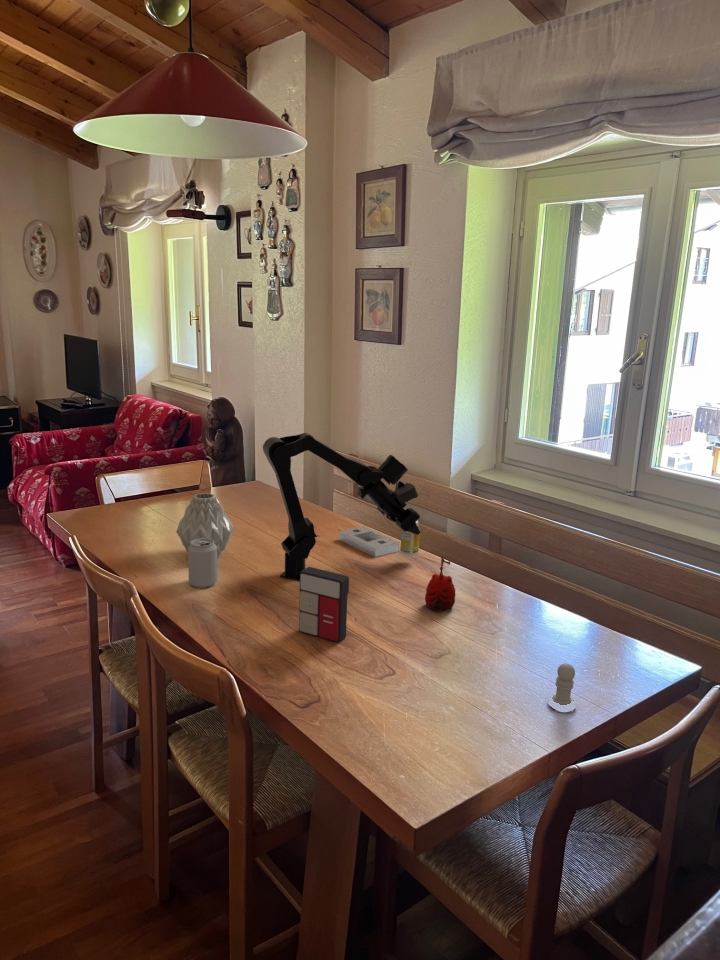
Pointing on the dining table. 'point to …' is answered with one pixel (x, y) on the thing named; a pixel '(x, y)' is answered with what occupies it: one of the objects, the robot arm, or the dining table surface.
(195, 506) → the vase
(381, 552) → the light grey flat slab
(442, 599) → the red lumpy oval
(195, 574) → the can
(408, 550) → the supplement bottle
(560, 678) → the chess piece
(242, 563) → the dining table surface
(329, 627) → the grey and red box
